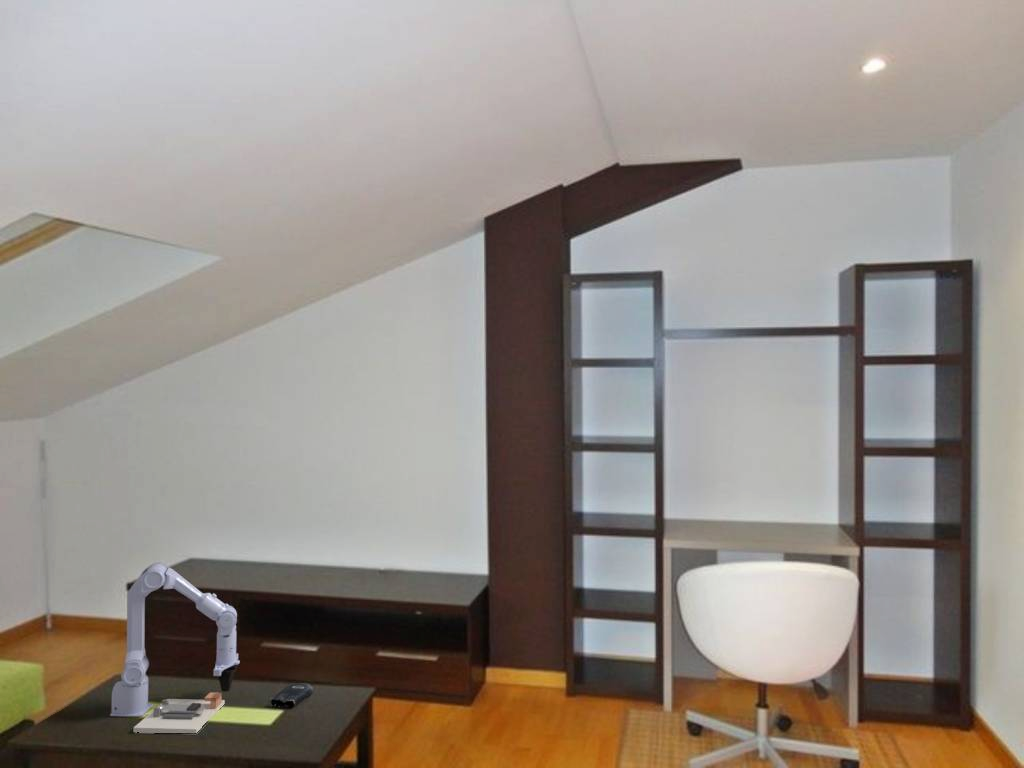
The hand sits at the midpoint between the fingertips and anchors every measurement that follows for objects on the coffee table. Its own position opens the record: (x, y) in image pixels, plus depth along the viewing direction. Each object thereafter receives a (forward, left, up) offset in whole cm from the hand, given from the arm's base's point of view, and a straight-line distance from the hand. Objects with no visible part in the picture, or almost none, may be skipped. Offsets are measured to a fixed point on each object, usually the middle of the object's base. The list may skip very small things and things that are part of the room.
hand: (225, 690), depth 236 cm
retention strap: (-8, -13, -1) cm, 15 cm away
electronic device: (+20, +4, -4) cm, 21 cm away
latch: (-1, -7, -2) cm, 7 cm away
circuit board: (-8, -13, -3) cm, 15 cm away
